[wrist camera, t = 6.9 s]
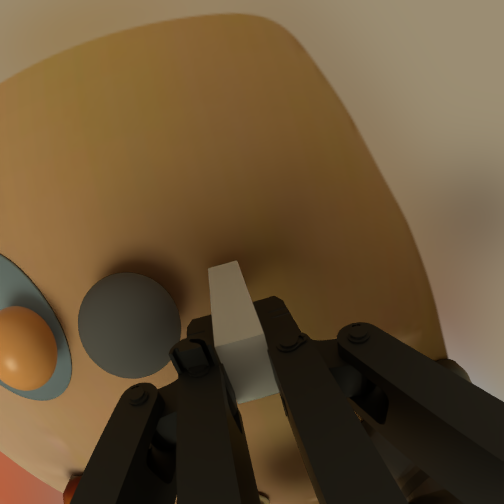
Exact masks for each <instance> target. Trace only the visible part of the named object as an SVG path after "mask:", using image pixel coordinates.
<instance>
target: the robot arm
mask: <svg viewBox="0 0 504 504" xmlns="http://www.w3.org/2000/svg"><path fill="white" fill-rule="evenodd" d="M208 275H209V288H210V301H211V313H212V315H208V316H204V317H200V318H196V319H192V321H191V322H190V324H189V325H188V327H187V338H185V339H183V340H181V341H179V342H178V343H176V344H175V345H174V346H173V347H172V348H171V349H170V351H169V354H168V355H169V357H170V359H171V361H172V363H173V365H174V367H175V369H176V371H177V373H178V379H177V380H176V381H174V382H173V383H171V384H169V385H167V386H164V387H162V388H160V389H157V388H156V387H155V386H154V385H153V384H151V383H138V384H136V385H133V386H131V387H130V388H128V389H127V390H126V391H125V392H124V393H123V395H122V396H121V398H120V400H119V402H118V403H117V405H116V407H115V409H114V411H113V413H112V415H111V417H110V419H109V421H108V423H107V425H106V427H105V429H104V431H103V433H102V435H101V437H100V439H99V441H98V443H97V445H96V447H95V449H94V451H93V453H92V455H91V457H90V460H89V462H88V464H87V466H86V468H85V470H84V472H83V475H82V477H81V479H80V481H79V483H78V485H77V488H76V490H75V492H74V494H73V497H72V499H71V501H70V504H175V500H176V496H177V504H261V502H260V497H259V493H258V489H257V485H256V481H255V477H254V472H253V468H252V464H251V459H250V455H249V450H248V445H247V441H246V436H245V431H244V427H243V422H242V417H241V414H240V412H239V409H238V407H237V402H238V404H240V403H244V402H248V401H252V400H255V399H259V398H263V397H266V396H270V395H273V394H276V393H280V396H281V399H282V403H283V407H284V410H285V414H286V416H287V417H288V420H289V423H290V426H291V428H292V431H293V434H294V437H295V439H296V442H297V445H298V448H299V450H300V453H301V456H302V458H303V461H304V464H305V467H306V469H307V472H308V475H309V477H310V480H311V482H312V485H313V488H314V490H315V493H316V496H317V498H318V501H319V503H320V504H504V402H503V401H501V400H499V399H498V398H496V397H494V396H492V395H491V394H489V393H487V392H486V391H484V390H482V389H481V388H479V387H477V386H476V385H474V384H472V382H471V381H470V378H469V376H468V374H467V373H466V371H465V370H464V369H463V368H462V367H461V366H459V365H458V364H457V363H456V362H455V361H453V360H450V359H444V360H439V361H436V362H435V361H433V360H432V359H430V358H428V357H427V356H425V355H423V354H421V353H420V352H418V351H416V350H415V349H413V348H411V347H410V346H408V345H406V344H405V343H403V342H401V341H399V340H398V339H396V338H394V337H393V336H391V335H389V334H388V333H386V332H384V331H383V330H381V329H379V328H378V327H376V326H374V325H372V324H369V323H362V322H359V323H352V324H350V325H347V326H345V327H344V328H342V329H341V330H340V331H339V333H338V335H337V339H332V340H322V341H318V340H312V339H310V337H308V336H307V335H306V334H304V333H301V331H300V329H299V328H298V326H297V324H296V322H295V321H294V319H293V317H292V316H291V314H290V313H289V310H288V309H287V308H286V305H285V304H284V302H283V300H281V299H279V298H278V297H276V296H272V297H269V298H265V299H262V300H258V301H255V302H252V300H251V297H250V295H249V292H248V289H247V286H246V284H245V281H244V278H243V275H242V273H241V270H240V267H239V264H238V262H237V260H236V261H233V262H229V263H225V264H222V265H218V266H215V267H211V268H208ZM236 400H237V402H236ZM354 411H355V412H356V413H357V414H358V415H359V416H361V417H362V418H363V419H364V420H363V421H362V423H361V422H360V420H359V419H358V417H357V415H356V414H355V412H354Z"/></svg>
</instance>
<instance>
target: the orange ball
mask: <svg viewBox="0 0 504 504" xmlns="http://www.w3.org/2000/svg"><path fill="white" fill-rule="evenodd" d="M57 357H58V353H57V345H56V340H55V337H54V335H53V333H52V331H51V329H50V327H49V326H48V324H47V323H46V322H45V320H44V319H43V318H42V317H41V316H39V315H38V314H37V313H36V312H34V311H32V310H30V309H28V308H25V307H21V306H10V307H6V308H4V309H2V310H0V380H2V381H3V382H4V383H5V384H7V385H8V386H10V387H12V388H15V389H18V390H23V391H30V390H35V389H38V388H40V387H42V386H43V385H44V384H46V383H47V382H48V381H49V380H50V378H51V377H52V375H53V373H54V371H55V368H56V364H57Z"/></svg>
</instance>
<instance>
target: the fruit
mask: <svg viewBox="0 0 504 504" xmlns="http://www.w3.org/2000/svg"><path fill="white" fill-rule="evenodd" d="M81 477H82V476H74V475H72V476H71V479H70V480H69V482H68V484H67V486H66V489H65V491H64V493H63V500H64V504H70V501H71V499H72V497H73V494H74V492H75V490H76V488H77V485H78V483H79V481H80V479H81Z"/></svg>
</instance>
